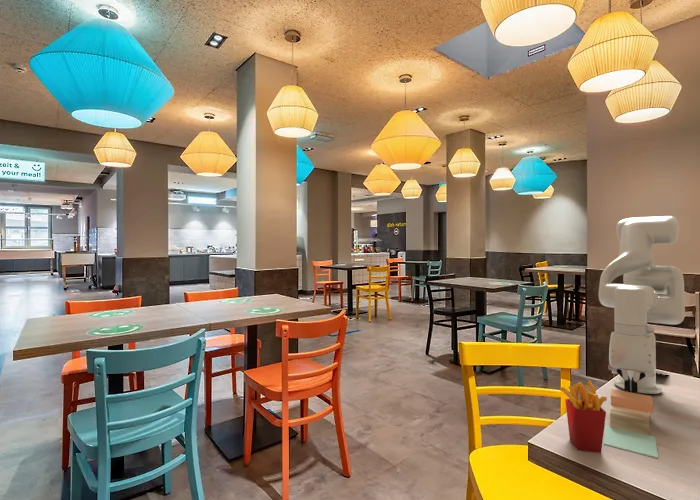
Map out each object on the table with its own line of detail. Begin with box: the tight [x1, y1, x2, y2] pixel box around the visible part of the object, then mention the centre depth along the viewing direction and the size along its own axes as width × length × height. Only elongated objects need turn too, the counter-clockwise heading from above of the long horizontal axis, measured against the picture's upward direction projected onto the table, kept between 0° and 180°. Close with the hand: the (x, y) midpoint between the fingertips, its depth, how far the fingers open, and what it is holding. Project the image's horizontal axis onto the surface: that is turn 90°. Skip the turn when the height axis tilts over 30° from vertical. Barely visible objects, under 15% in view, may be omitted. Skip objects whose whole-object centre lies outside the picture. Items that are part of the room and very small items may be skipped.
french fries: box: [559, 380, 608, 454], centre depth 89 cm, size 9×8×15 cm
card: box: [610, 388, 654, 414], centre depth 101 cm, size 6×9×2 cm, turn 54°
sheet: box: [609, 404, 651, 436], centre depth 101 cm, size 16×8×4 cm, turn 144°
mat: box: [603, 425, 659, 459], centre depth 90 cm, size 11×10×1 cm
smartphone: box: [656, 369, 669, 376], centre depth 137 cm, size 7×16×1 cm, turn 131°
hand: (630, 393), depth 107 cm, fingers closed
